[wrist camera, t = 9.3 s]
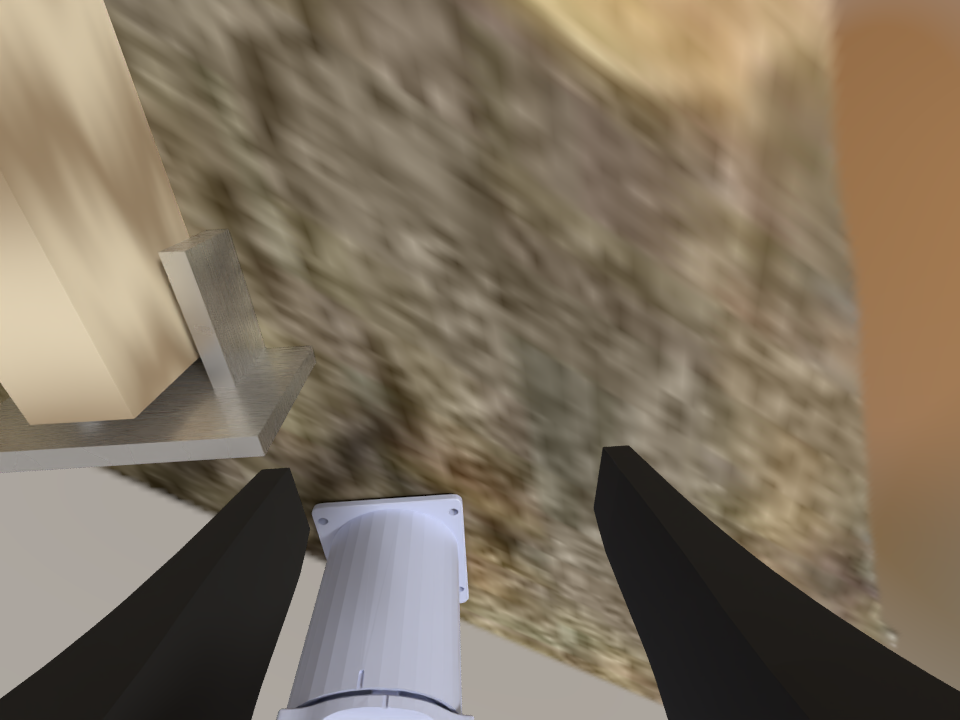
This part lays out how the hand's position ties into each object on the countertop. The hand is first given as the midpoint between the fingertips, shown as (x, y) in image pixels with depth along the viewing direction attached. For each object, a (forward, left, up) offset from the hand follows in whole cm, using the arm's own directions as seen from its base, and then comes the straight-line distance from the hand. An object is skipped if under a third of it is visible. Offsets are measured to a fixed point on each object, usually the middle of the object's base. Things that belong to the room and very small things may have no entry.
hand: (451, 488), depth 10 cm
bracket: (+2, +11, -9) cm, 15 cm away
